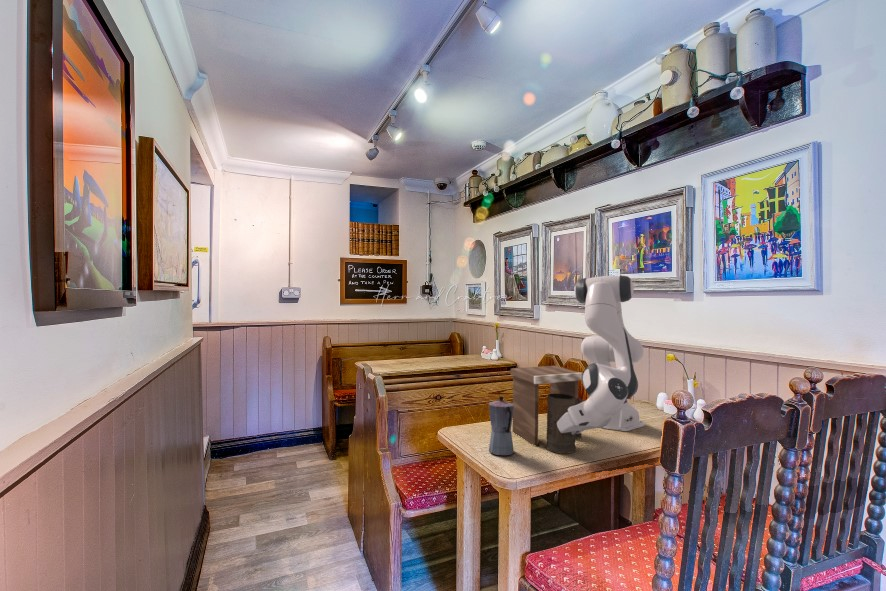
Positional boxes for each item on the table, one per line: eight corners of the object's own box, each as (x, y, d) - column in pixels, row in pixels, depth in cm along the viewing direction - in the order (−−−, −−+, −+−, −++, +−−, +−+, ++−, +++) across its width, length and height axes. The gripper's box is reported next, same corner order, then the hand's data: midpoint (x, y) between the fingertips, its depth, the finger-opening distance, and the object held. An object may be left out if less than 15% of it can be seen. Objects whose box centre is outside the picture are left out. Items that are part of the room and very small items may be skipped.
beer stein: (559, 456, 147) (562, 399, 148) (538, 446, 156) (541, 393, 157) (589, 451, 154) (592, 397, 155) (568, 442, 164) (570, 391, 164)
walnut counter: (553, 426, 180) (554, 365, 180) (581, 440, 164) (582, 373, 163) (509, 432, 172) (510, 368, 172) (534, 447, 155) (535, 376, 155)
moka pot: (504, 443, 159) (504, 391, 159) (524, 459, 145) (525, 401, 145) (481, 446, 156) (482, 393, 156) (499, 462, 142) (500, 403, 142)
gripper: (612, 402, 148) (592, 421, 157) (565, 407, 141) (547, 427, 150) (621, 418, 144) (601, 437, 153) (573, 424, 137) (555, 444, 146)
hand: (574, 432), depth 151 cm, fingers closed
